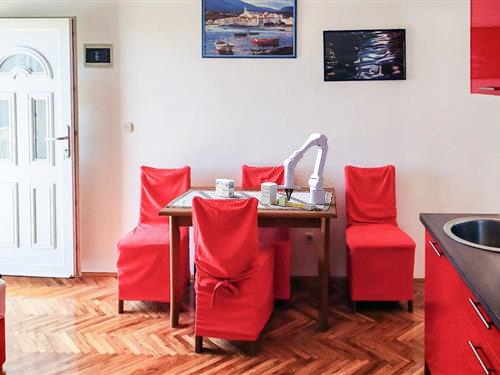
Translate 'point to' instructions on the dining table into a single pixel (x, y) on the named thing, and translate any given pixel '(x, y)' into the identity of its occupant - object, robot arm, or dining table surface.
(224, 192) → the light bulb box
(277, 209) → the dining table surface
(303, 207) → the pale yellow rod
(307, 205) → the comb
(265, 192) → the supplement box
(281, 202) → the sleeve
